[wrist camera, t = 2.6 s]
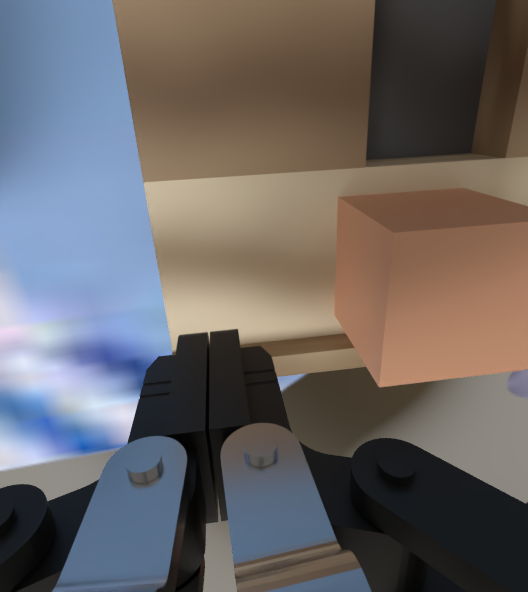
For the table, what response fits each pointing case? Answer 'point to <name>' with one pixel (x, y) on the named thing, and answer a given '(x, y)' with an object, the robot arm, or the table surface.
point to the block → (433, 283)
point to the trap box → (308, 143)
